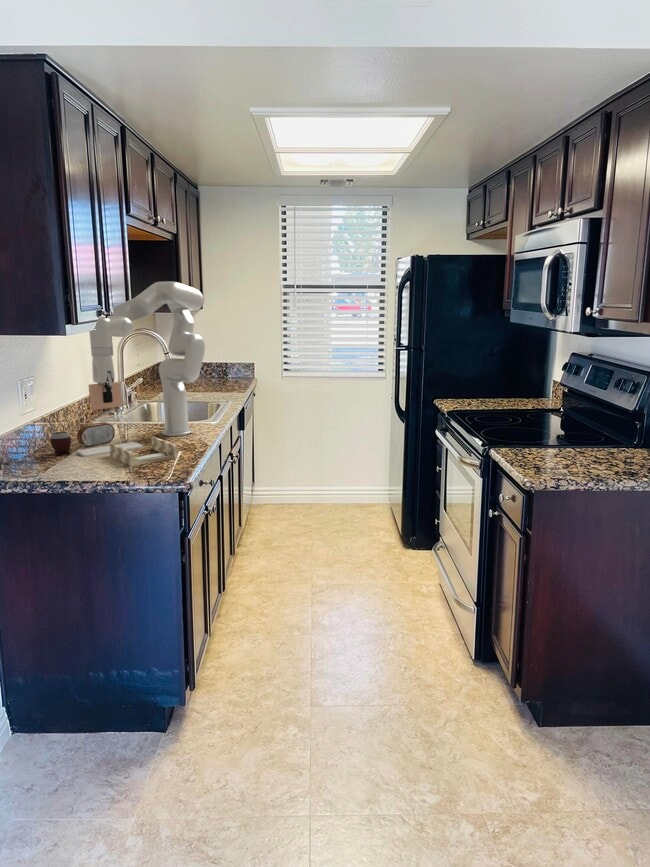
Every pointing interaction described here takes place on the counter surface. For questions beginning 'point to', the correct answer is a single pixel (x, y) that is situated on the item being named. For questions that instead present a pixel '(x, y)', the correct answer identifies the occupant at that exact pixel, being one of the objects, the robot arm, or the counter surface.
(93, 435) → the tin
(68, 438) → the mate gourd
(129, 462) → the rack
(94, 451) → the mat
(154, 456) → the offcut upper
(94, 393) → the sheet
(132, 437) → the counter surface
